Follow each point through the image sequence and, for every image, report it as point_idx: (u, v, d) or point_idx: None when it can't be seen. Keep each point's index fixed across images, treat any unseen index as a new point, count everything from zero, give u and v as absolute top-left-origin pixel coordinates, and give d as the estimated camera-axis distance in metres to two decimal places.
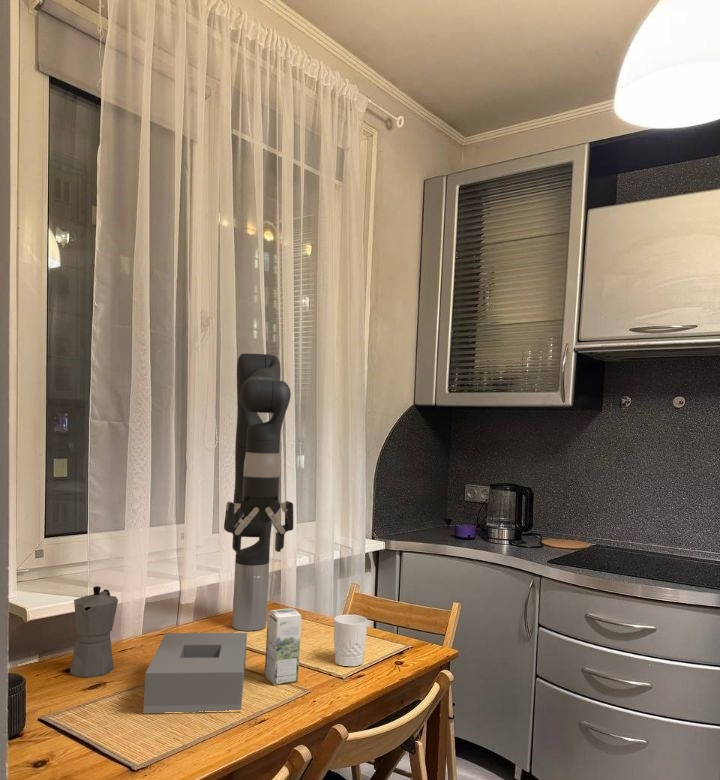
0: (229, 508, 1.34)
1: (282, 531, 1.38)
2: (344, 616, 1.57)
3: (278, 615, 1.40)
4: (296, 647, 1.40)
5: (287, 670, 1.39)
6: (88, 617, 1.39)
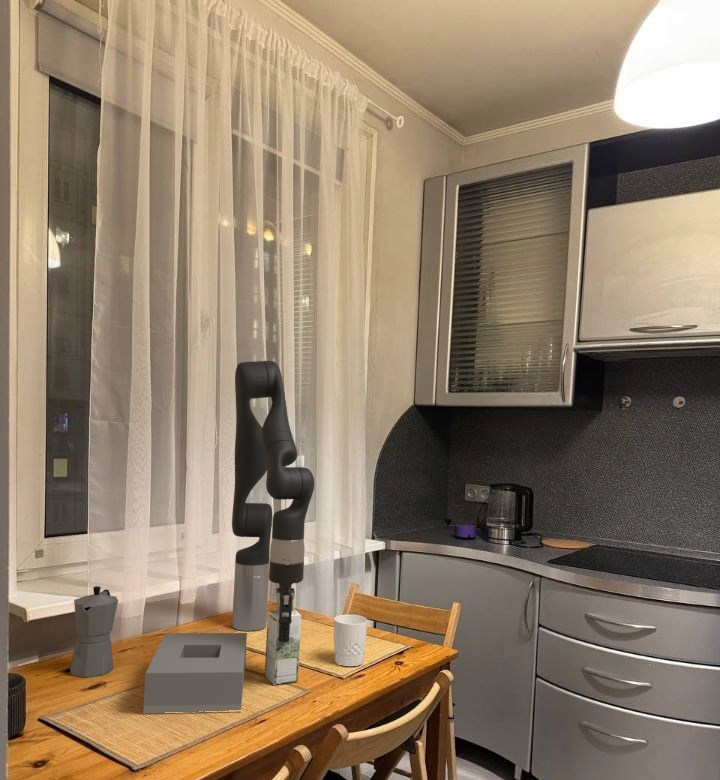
0: (291, 600, 1.36)
1: None
2: (344, 616, 1.57)
3: (278, 615, 1.40)
4: (296, 647, 1.40)
5: (287, 669, 1.39)
6: (88, 617, 1.39)
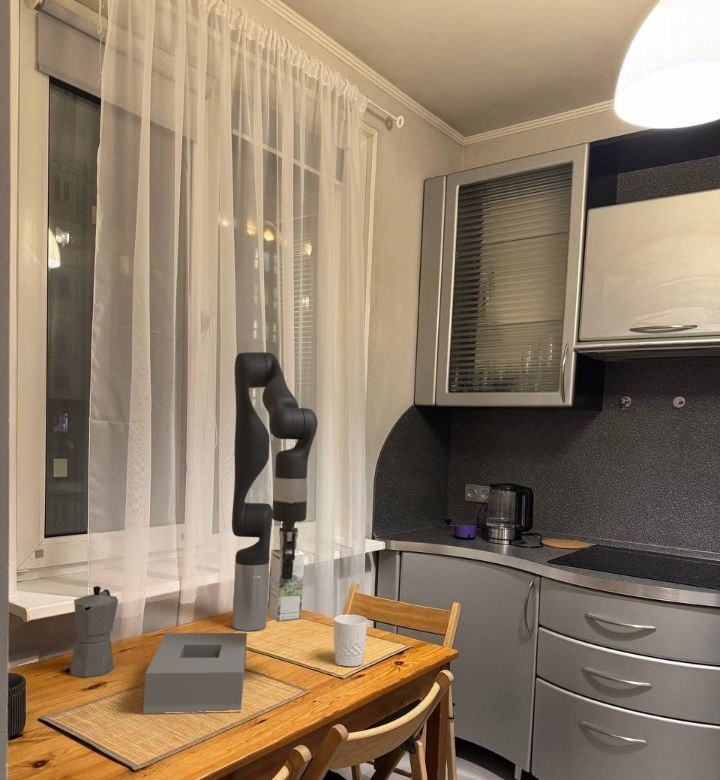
0: (295, 537, 1.37)
1: None
2: (344, 616, 1.57)
3: (281, 553, 1.40)
4: (299, 585, 1.41)
5: (290, 607, 1.40)
6: (88, 617, 1.39)
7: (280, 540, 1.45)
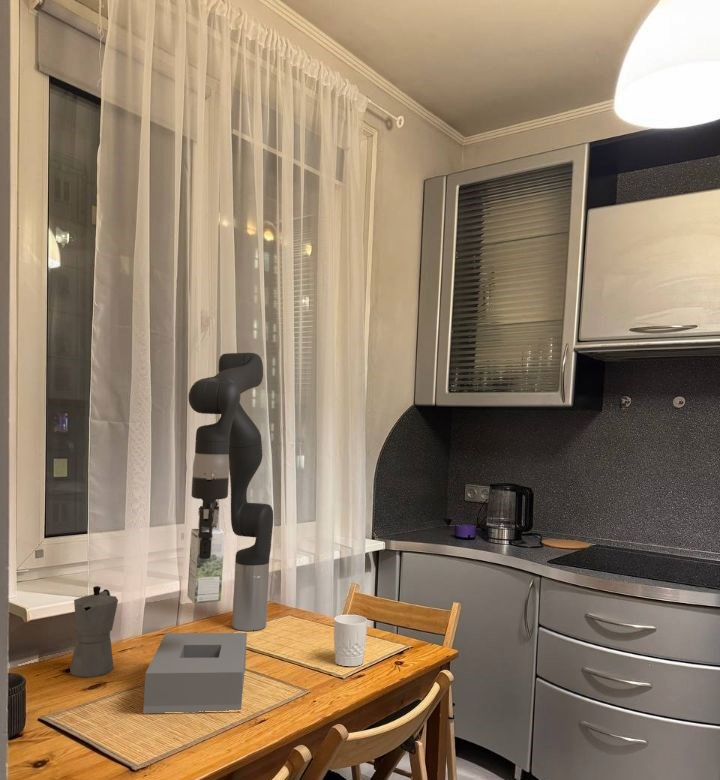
0: (212, 514, 1.31)
1: None
2: (344, 616, 1.57)
3: None
4: (219, 565, 1.35)
5: (208, 588, 1.34)
6: (88, 617, 1.39)
7: None
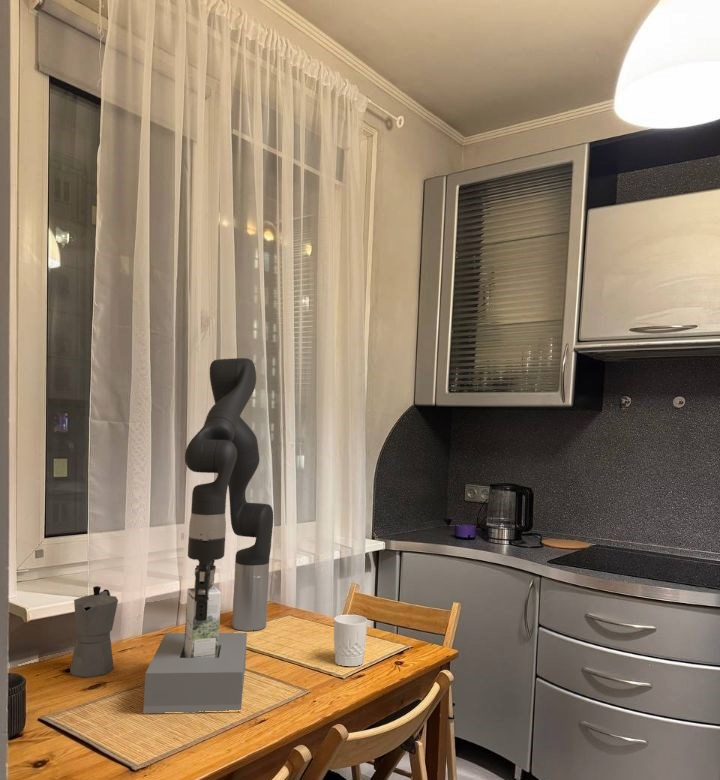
0: (208, 577, 1.30)
1: None
2: (344, 616, 1.57)
3: None
4: (215, 626, 1.35)
5: (204, 650, 1.33)
6: (88, 617, 1.39)
7: None
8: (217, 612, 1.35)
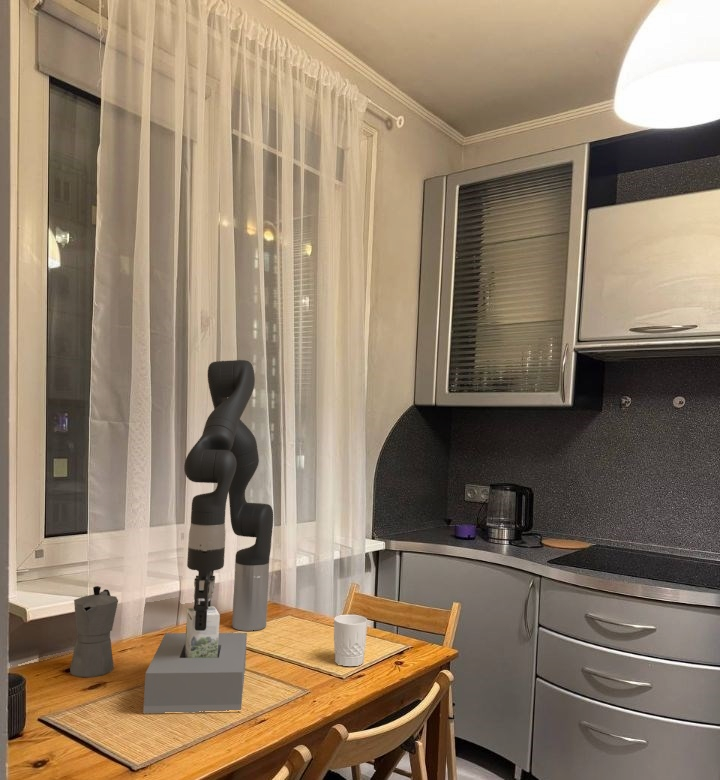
0: (207, 586, 1.30)
1: (211, 596, 1.41)
2: (344, 616, 1.57)
3: (194, 613, 1.33)
4: (213, 647, 1.34)
5: None
6: (88, 617, 1.39)
7: None
8: (216, 633, 1.34)
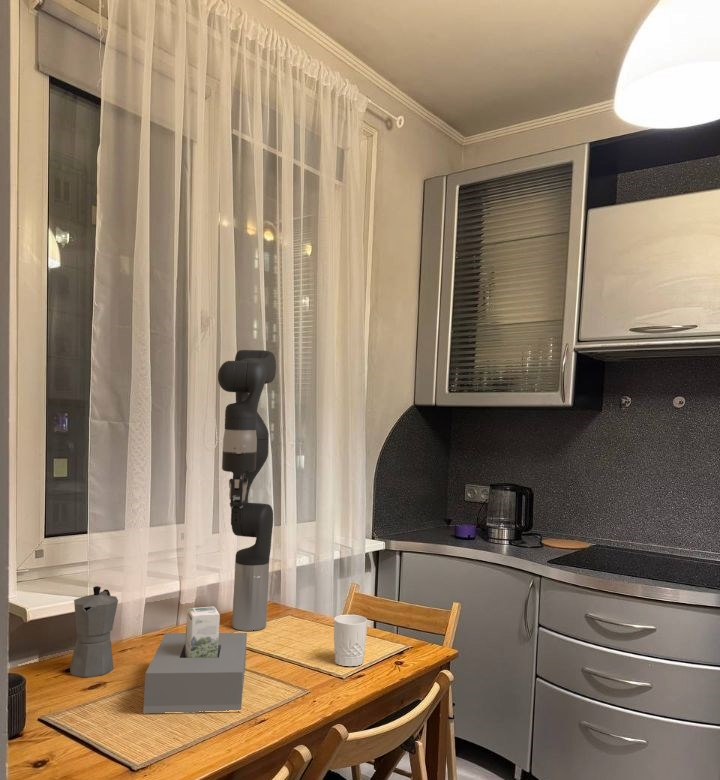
0: (242, 484, 1.41)
1: (244, 499, 1.52)
2: (344, 616, 1.57)
3: (194, 613, 1.33)
4: (213, 647, 1.34)
5: None
6: (88, 617, 1.39)
7: None
8: (216, 633, 1.34)
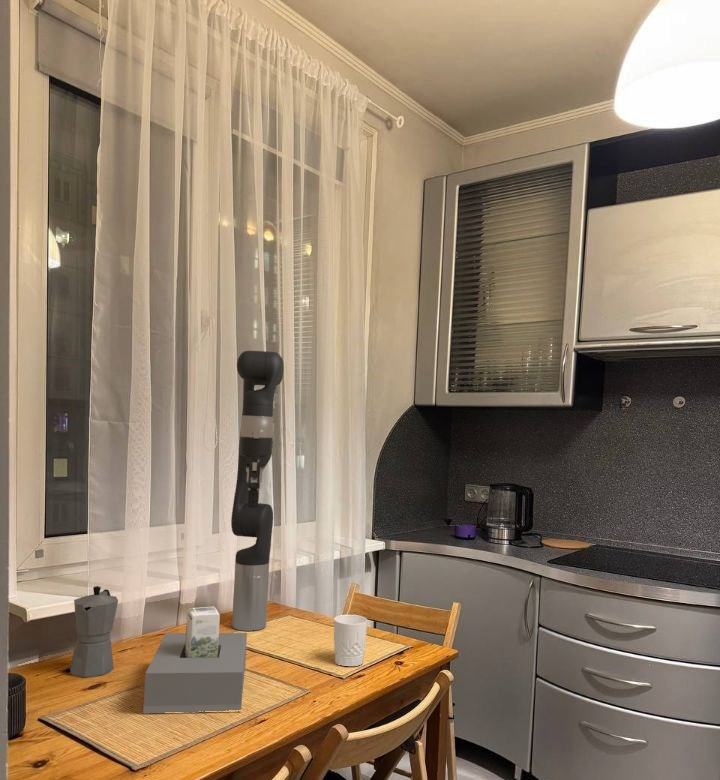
0: (260, 467, 1.47)
1: None
2: (344, 616, 1.57)
3: (194, 613, 1.33)
4: (213, 647, 1.34)
5: None
6: (88, 617, 1.39)
7: None
8: (216, 633, 1.34)
